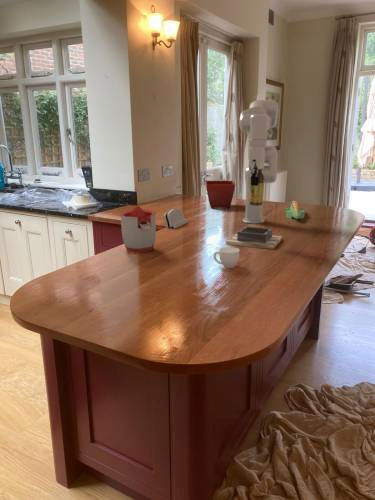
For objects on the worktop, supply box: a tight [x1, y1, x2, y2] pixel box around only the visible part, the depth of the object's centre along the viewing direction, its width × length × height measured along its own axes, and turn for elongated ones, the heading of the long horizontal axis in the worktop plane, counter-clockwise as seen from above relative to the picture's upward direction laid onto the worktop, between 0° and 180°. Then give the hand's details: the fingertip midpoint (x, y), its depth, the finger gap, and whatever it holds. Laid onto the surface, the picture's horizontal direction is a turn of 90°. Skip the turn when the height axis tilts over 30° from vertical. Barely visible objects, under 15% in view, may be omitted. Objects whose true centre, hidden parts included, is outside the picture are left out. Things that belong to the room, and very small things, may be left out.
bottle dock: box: [225, 225, 283, 250], centre depth 191 cm, size 18×22×6 cm
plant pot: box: [205, 180, 236, 209], centre depth 278 cm, size 19×19×17 cm
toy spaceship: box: [285, 200, 306, 220], centre depth 243 cm, size 32×10×7 cm, turn 169°
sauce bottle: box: [249, 168, 265, 206], centre depth 184 cm, size 6×6×20 cm
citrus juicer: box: [119, 205, 157, 254], centre depth 178 cm, size 16×17×20 cm
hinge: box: [163, 208, 188, 229], centre depth 228 cm, size 17×5×10 cm, turn 154°
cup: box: [213, 246, 241, 269], centre depth 157 cm, size 8×10×7 cm
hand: (256, 183), depth 184 cm, fingers closed on sauce bottle, 6 cm apart
